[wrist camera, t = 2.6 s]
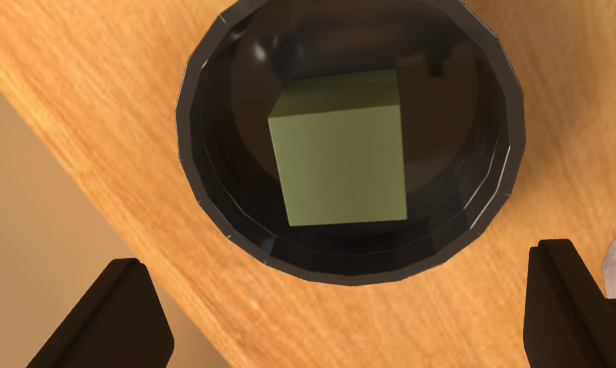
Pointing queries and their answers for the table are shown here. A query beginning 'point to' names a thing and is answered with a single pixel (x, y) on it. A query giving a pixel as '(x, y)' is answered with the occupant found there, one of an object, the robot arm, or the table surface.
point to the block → (340, 148)
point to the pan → (414, 120)
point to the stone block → (610, 271)
